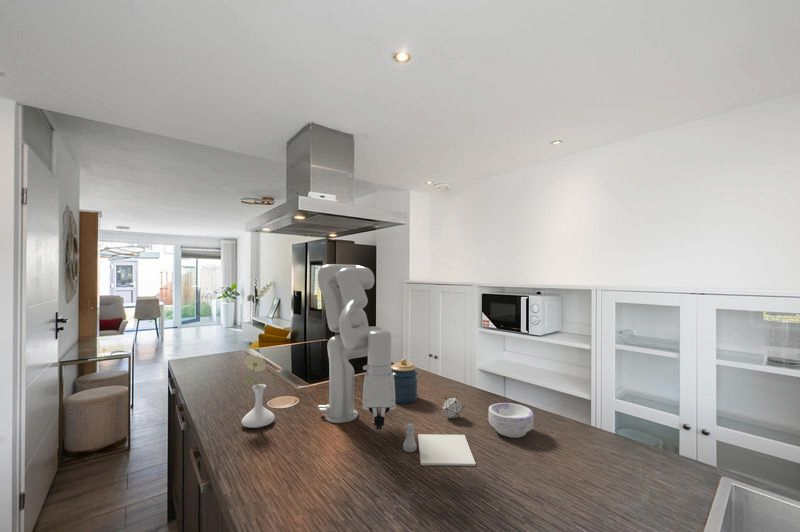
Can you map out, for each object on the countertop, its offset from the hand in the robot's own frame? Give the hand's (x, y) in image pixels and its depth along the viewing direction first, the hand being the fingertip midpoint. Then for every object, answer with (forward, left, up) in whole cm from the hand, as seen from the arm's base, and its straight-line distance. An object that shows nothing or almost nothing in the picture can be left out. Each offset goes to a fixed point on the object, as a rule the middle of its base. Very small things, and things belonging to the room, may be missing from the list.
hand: (379, 427), depth 109 cm
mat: (+21, 0, -7) cm, 22 cm away
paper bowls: (+46, +13, -7) cm, 48 cm away
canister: (+8, +44, -7) cm, 46 cm away
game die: (+27, +24, -7) cm, 37 cm away
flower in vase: (-46, +17, -7) cm, 50 cm away
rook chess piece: (+10, 0, -7) cm, 12 cm away
